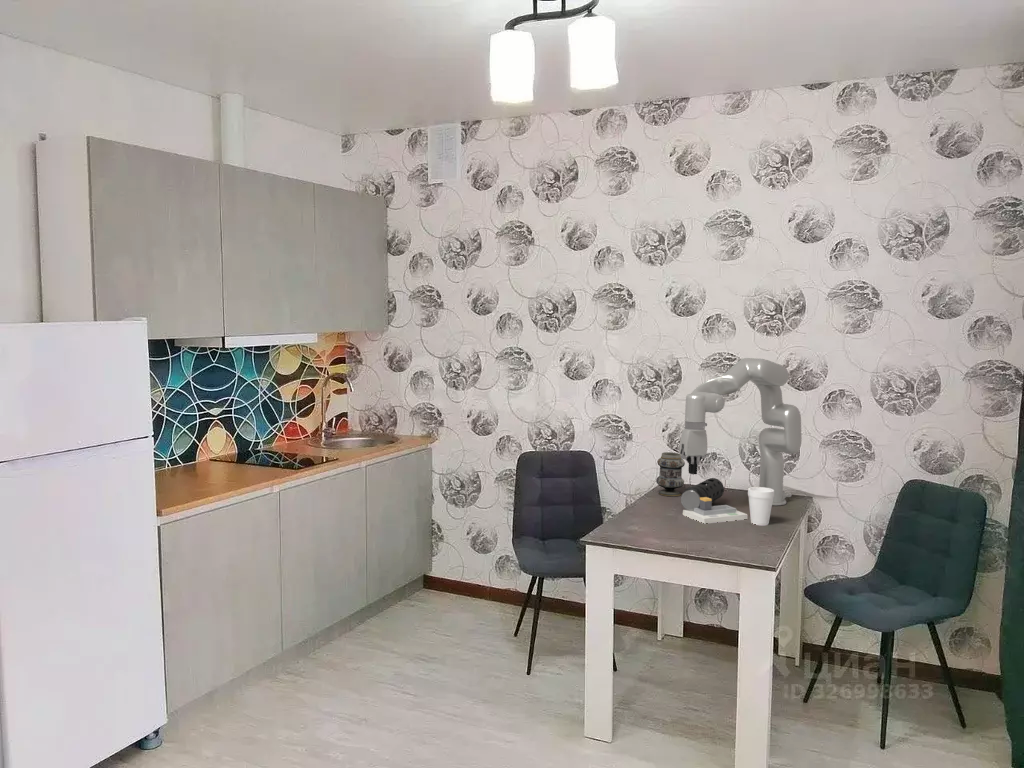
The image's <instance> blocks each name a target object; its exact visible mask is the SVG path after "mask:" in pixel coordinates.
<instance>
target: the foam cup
mask: <svg viewBox="0 0 1024 768" xmlns="http://www.w3.org/2000/svg"><path fill="white" fill-rule="evenodd" d="M747 496H748V506H749V514H750V517H749V518H750V523H751V524H752V523H753V524H752V525H754V524H756V525H755V526H769V523H770V518H771V512H772V508H773V505H772V502H773V497H774V490H773V489H770V488H765V487H759V486H752V487H748V488H747Z"/></svg>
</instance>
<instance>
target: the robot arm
mask: <svg viewBox="0 0 1024 768" xmlns="http://www.w3.org/2000/svg"><path fill="white" fill-rule="evenodd" d="M789 377H790V375H789V371H788V369H787V367H786V366H784V365H781V364H779V363H776V362H774V361H771V360H768V359H765V358H757V357H756V358H753V357H745V358H741V359H739V360H738V361H737V362H736V363H735V364H734V365H732V366H731V368H729V369H728V370H727V371H726V372H725V373H724V374H722V375H719V376H716V377H714V378H712V379H709V380H707V381H704V382H702V383H700V384H699V385H698V386H696V387H695V388H694V389H693V390H692V391H691V392H690V393H688V394H687V395H686V396H685V409H684V410H685V411H684V428H683V429H682V430H681V434H680V439H679V449H678V451H679V454H681V459H683V460H685V461H686V462H687V463H688V470H687V471H688V474H690V475H697V474H698V465H699V464H700V461H701V460H703V459H706V458H707V454H708V435H707V429H706V427H707V426H708V422H706V413H710V414H711V413H712V414H715V413H719V412H720V411H722V410H723V409H724V407H725V399H724V397H723V396H727V395H730V394H734V393H737V392H738V391H739V390H741V389H742V388H743V387H744V386H745V385H746V384H747V383H748V382H749V381H750V382H752V383H753V384H754V385H755V386H756V388H757V389H758V390H759V393H760V408H761V409H760V410H761V413H760V414H761V420H762V422H763V423H764V424H765V425H768V426H775V427H766V428H763V429H762V430H761V431H760V432H759V433H758V434H759V435H758V445H759V453H760V455H759V456H760V460H759V462H760V465H759V480H758V481H759V482H758V483H759V485H758V487H765V488H770V489H773V490H774V497H773V502H772V506H784V505H786V504H787V500H786V498H791V497H792V492H785V491H784V472H785V460H784V457H783V453H785V454H791V455H792V454H797V453H798V452H799V451H800V449H801V446H802V440H803V439H802V415H801V412H800V409H799V408H798V407H797V406H795V405H794V404H790V403H789V404H787V403H784V402H783V391H782V388H781V387H783V386H785V385H786V384H787V383H788V381H789ZM777 427H783V428H777Z"/></svg>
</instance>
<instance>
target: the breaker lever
mask: <svg viewBox="0 0 1024 768" xmlns="http://www.w3.org/2000/svg"><path fill="white" fill-rule="evenodd" d="M712 503H713V502H712V499H711V498H708V497H701V498H700V509H701V510H704V511H707V510H711V506H713V504H712Z"/></svg>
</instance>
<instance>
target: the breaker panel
mask: <svg viewBox="0 0 1024 768" xmlns="http://www.w3.org/2000/svg"><path fill="white" fill-rule="evenodd" d="M682 516H684V517H686V516H687V517H686V518H688V517H689V519H691V520H693V519H694V520H693V521H696V520H697V521H696V522H698V521H699V523H701V522H702V523H701V524H703V523H704V524H703V525H707V524H706V523H708V524H715V523H717V522H718V523H725V522H726V521H728V522H736V521H735V520H737V521H745V520H744V519H747V520H748V518H749V517H748V514H747V513H746V512H742V511H739V510H737V508H736V507H733V506H731V505H727V504H720V505H719V504H718V505H711V510H707V511H704V510H701V509H700V507H699V508H694V511H689V510H687V509H683V510H682ZM726 523H727V522H726Z"/></svg>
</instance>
